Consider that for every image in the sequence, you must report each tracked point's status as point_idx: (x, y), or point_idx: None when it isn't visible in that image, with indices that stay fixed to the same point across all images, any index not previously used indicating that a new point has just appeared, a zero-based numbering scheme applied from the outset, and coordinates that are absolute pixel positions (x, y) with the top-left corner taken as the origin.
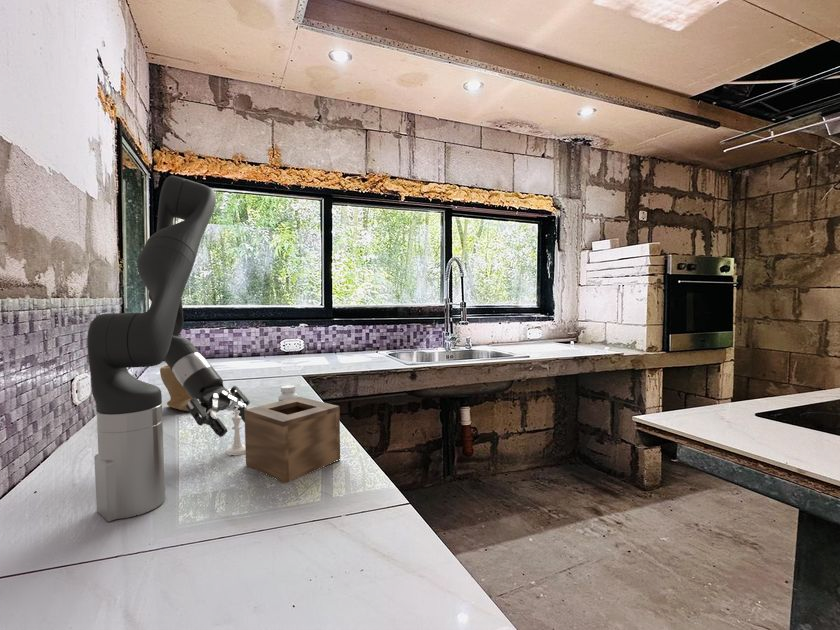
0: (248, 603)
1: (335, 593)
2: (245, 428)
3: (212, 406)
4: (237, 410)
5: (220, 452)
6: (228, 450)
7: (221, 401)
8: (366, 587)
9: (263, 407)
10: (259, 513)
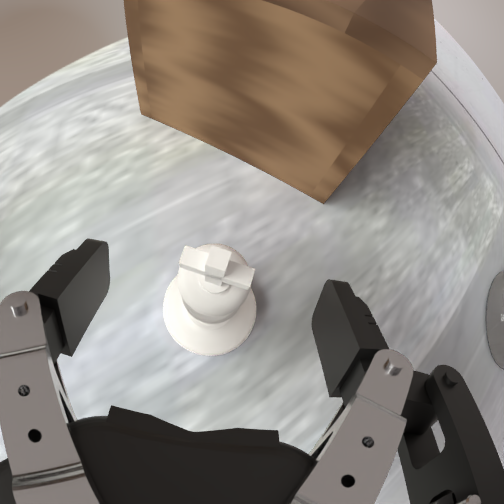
0: (497, 102)
1: (463, 58)
2: (388, 122)
3: (402, 429)
4: (215, 251)
5: (231, 376)
6: (246, 327)
7: (200, 482)
8: (449, 44)
9: (360, 2)
10: (446, 111)
